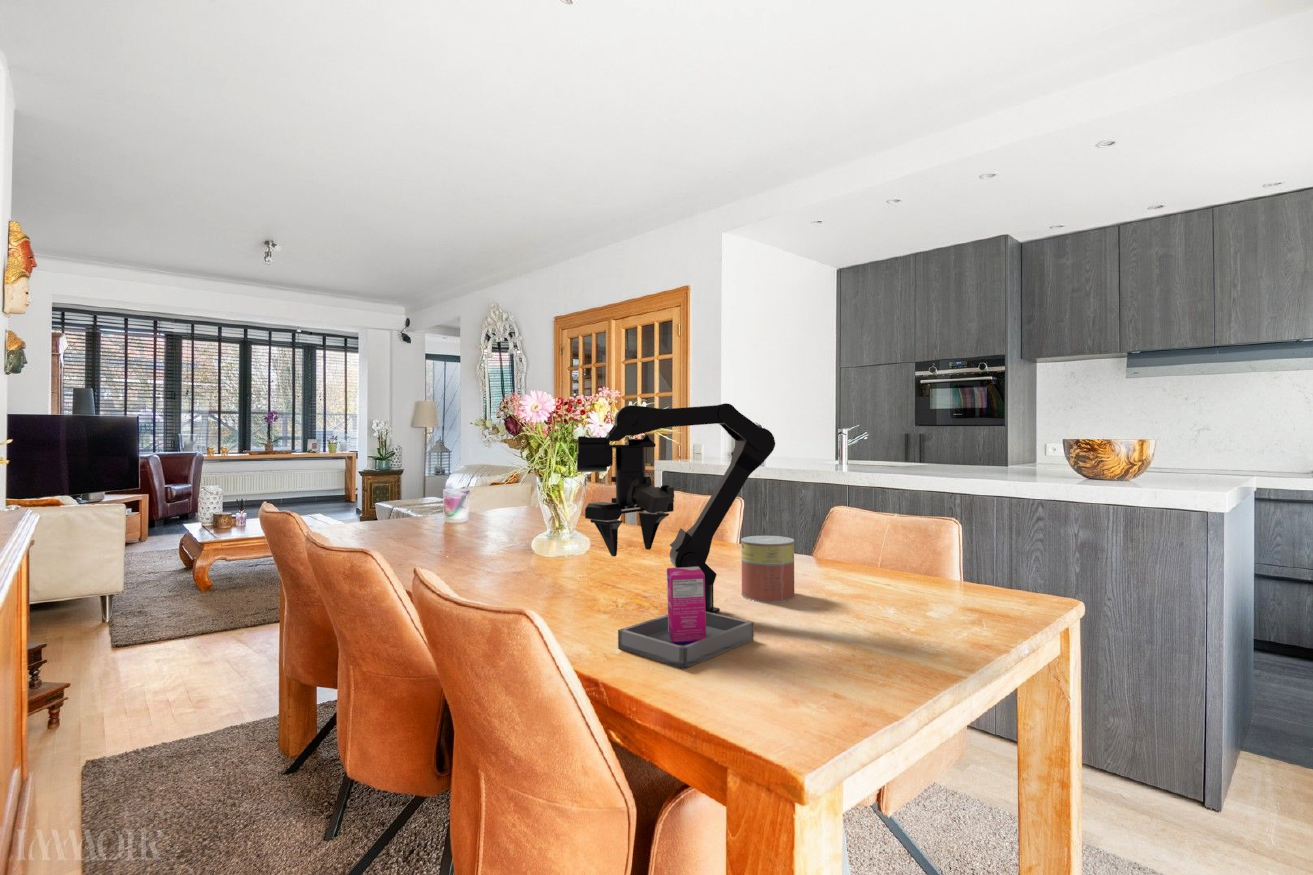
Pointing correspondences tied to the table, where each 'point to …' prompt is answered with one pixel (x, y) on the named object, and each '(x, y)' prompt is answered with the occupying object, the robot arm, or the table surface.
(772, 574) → the canned food
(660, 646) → the tray
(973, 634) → the table surface
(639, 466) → the robot arm
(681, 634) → the supplement box
